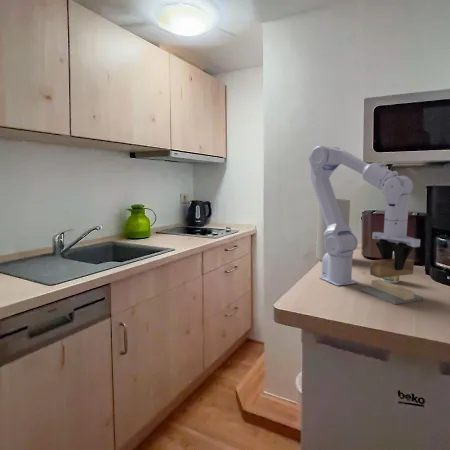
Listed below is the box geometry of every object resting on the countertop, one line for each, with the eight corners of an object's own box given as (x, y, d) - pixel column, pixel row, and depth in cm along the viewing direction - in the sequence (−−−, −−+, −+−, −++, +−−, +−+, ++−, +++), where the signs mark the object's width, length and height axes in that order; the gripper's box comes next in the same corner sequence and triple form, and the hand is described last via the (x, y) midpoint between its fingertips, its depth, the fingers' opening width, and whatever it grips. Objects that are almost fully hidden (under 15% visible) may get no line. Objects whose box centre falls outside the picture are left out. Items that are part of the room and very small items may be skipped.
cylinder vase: (309, 257, 143) (311, 199, 140) (332, 255, 148) (334, 198, 145) (330, 264, 132) (332, 200, 129) (354, 261, 137) (357, 199, 134)
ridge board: (361, 290, 99) (362, 281, 99) (387, 287, 103) (388, 278, 102) (394, 304, 88) (395, 294, 88) (422, 299, 91) (423, 289, 91)
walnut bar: (370, 274, 94) (370, 260, 94) (402, 271, 98) (403, 257, 98) (379, 277, 91) (380, 263, 90) (412, 274, 95) (413, 260, 94)
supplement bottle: (386, 283, 106) (388, 253, 105) (377, 278, 112) (379, 250, 111) (402, 283, 107) (404, 253, 106) (392, 278, 112) (394, 250, 111)
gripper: (365, 218, 98) (362, 263, 100) (407, 223, 85) (403, 275, 86) (383, 217, 100) (381, 261, 102) (427, 222, 87) (423, 273, 89)
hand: (392, 268), depth 94 cm, fingers closed on walnut bar, 3 cm apart
